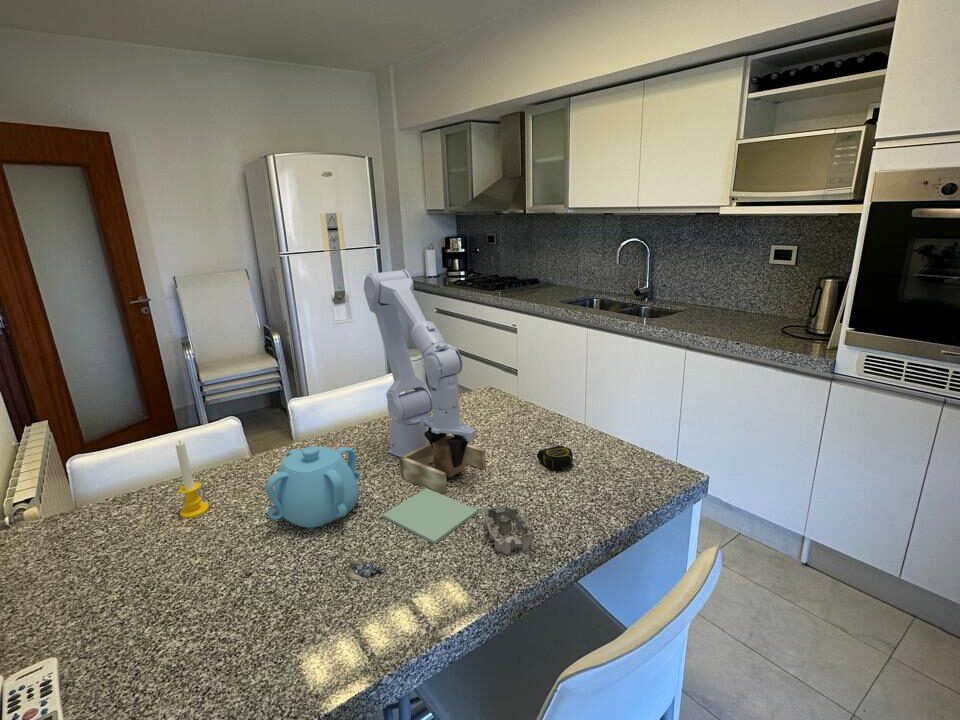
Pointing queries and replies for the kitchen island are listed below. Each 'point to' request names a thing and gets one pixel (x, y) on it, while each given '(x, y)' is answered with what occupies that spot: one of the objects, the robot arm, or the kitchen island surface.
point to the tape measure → (556, 457)
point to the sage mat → (430, 515)
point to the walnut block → (445, 458)
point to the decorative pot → (314, 486)
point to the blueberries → (364, 569)
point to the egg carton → (507, 528)
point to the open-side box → (429, 477)
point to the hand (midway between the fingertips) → (449, 462)
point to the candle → (189, 486)
